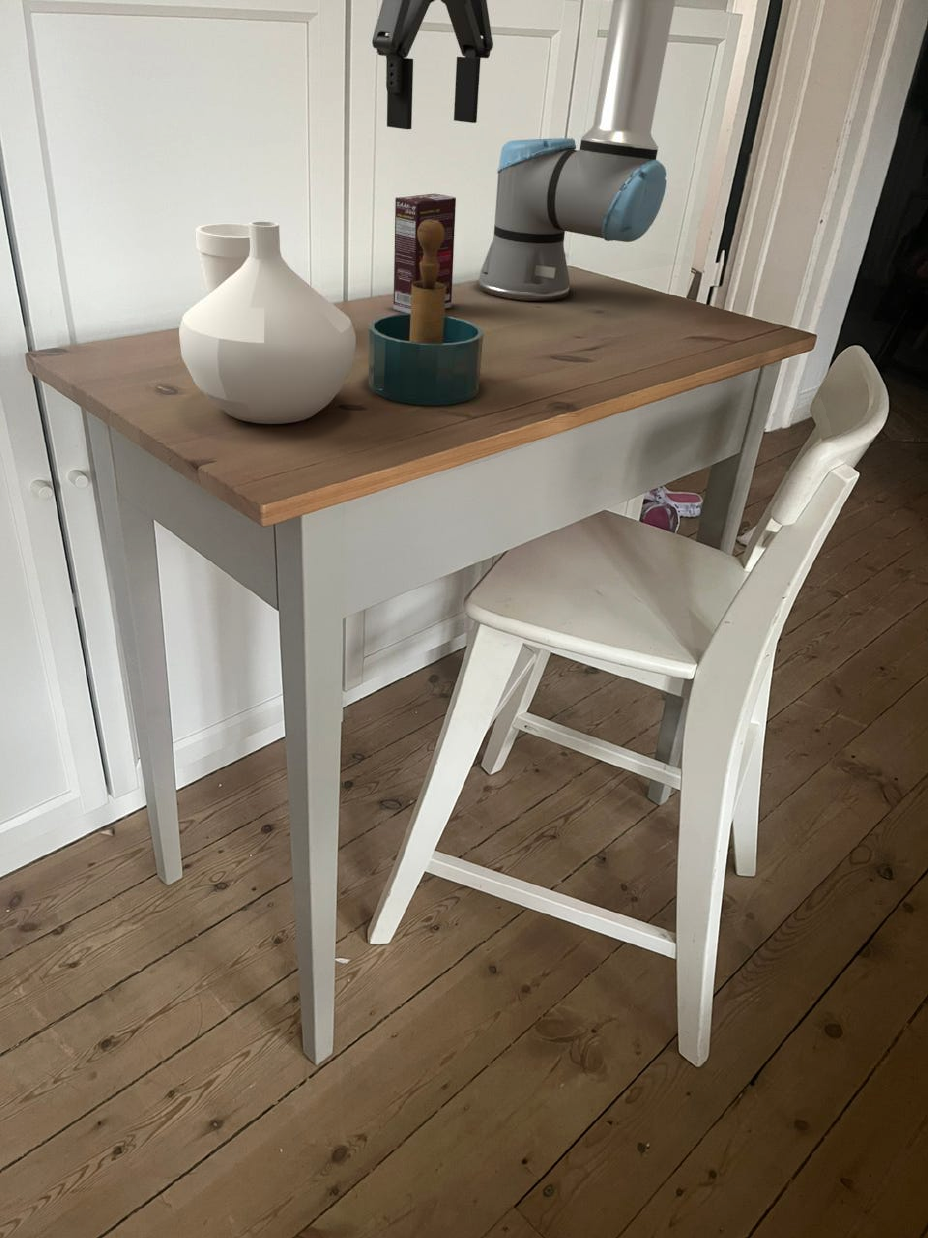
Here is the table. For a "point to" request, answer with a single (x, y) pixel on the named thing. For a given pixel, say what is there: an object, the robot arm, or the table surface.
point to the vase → (267, 340)
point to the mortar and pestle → (428, 288)
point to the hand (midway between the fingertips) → (433, 124)
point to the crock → (424, 362)
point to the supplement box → (410, 250)
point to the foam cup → (222, 251)
